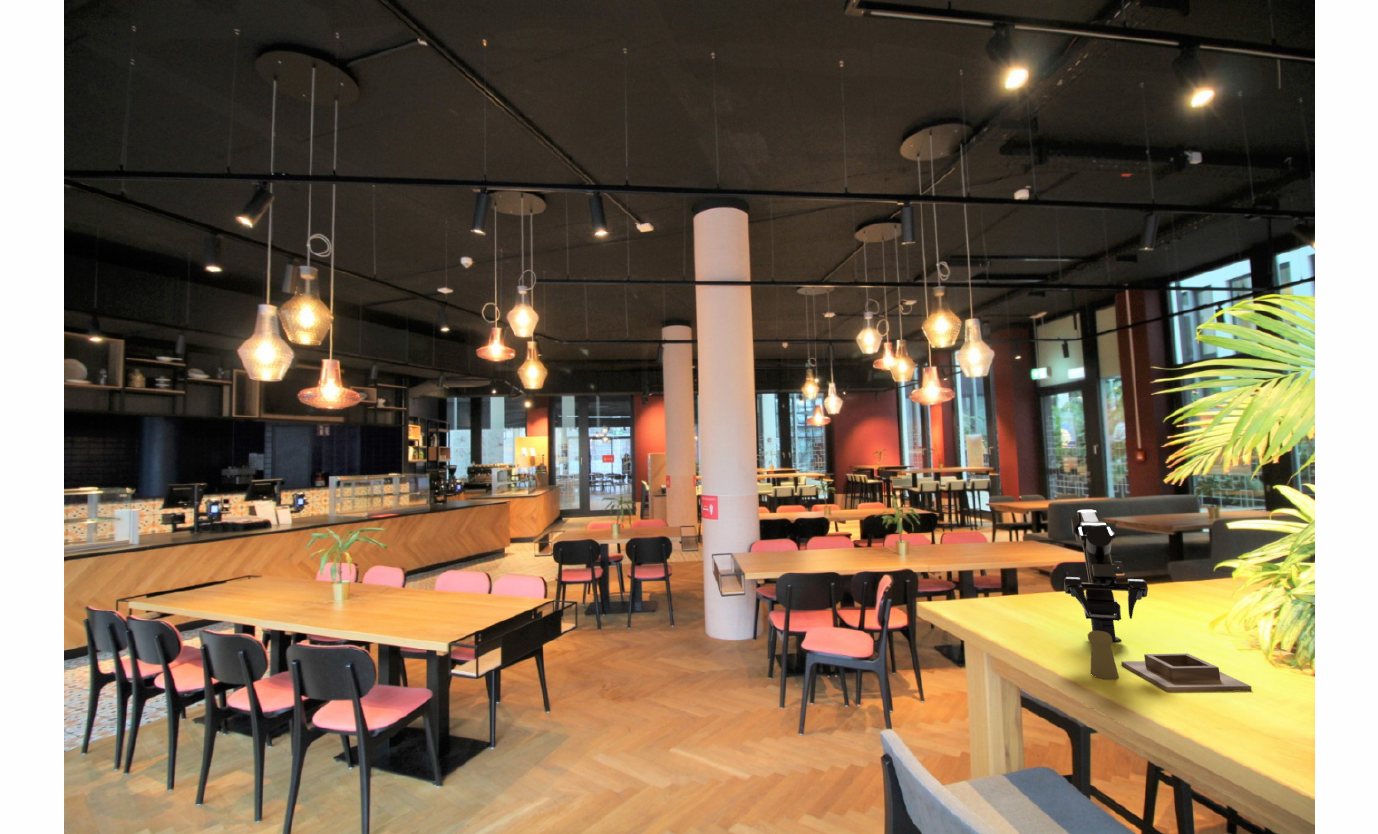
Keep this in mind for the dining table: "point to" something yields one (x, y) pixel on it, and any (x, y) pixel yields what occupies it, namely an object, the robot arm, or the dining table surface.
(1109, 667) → the cork
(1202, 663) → the holder board
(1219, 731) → the dining table surface
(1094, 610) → the robot arm
